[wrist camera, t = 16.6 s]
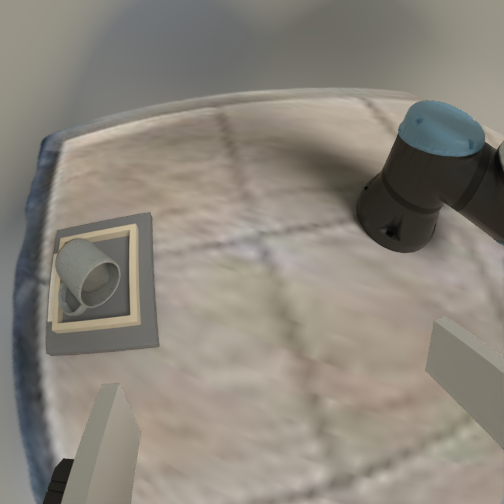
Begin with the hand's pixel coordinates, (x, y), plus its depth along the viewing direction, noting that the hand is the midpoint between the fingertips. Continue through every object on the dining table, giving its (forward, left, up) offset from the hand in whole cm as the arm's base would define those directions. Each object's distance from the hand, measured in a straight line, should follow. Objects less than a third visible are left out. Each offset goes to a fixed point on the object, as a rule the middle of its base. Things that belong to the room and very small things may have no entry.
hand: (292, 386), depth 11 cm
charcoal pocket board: (+21, -22, -30) cm, 42 cm away
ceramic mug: (+22, -20, -28) cm, 41 cm away
